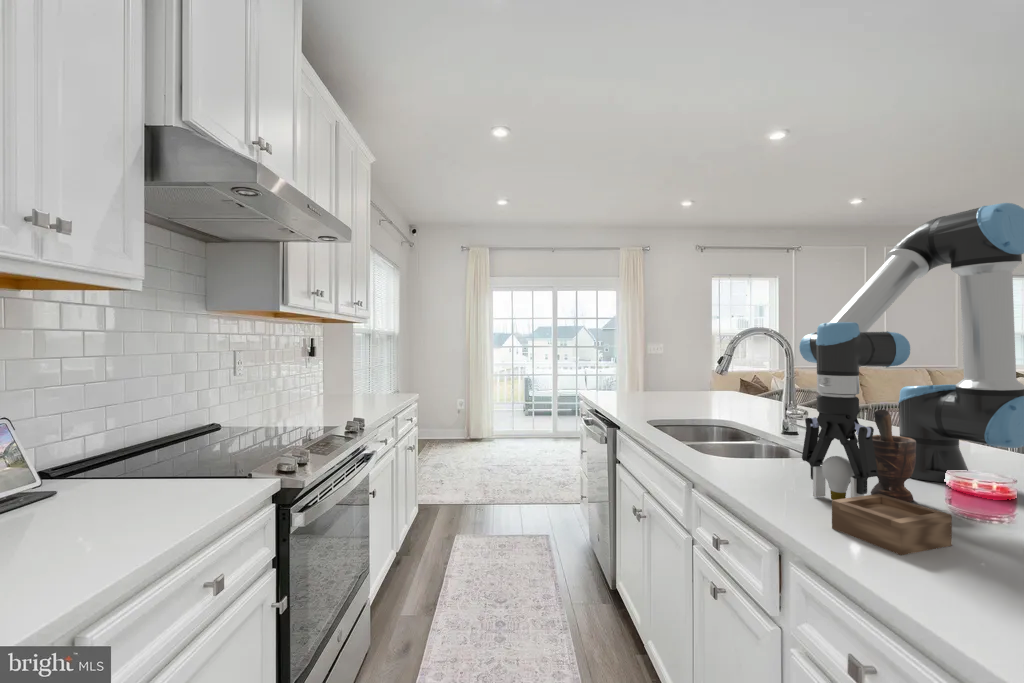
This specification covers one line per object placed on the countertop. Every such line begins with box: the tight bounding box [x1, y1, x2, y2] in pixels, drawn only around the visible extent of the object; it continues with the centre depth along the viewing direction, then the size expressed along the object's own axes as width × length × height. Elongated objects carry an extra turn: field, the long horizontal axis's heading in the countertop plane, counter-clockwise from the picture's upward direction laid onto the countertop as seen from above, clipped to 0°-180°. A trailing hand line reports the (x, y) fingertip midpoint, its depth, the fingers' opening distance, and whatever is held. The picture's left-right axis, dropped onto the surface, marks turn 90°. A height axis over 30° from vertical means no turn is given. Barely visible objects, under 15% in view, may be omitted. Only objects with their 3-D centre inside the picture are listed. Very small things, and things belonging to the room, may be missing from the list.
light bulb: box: [821, 455, 855, 501], centre depth 104 cm, size 6×6×10 cm
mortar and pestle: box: [870, 409, 916, 503], centre depth 106 cm, size 12×9×20 cm
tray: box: [831, 494, 953, 556], centre depth 86 cm, size 12×12×5 cm
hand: (837, 502), depth 104 cm, fingers open, 8 cm apart
